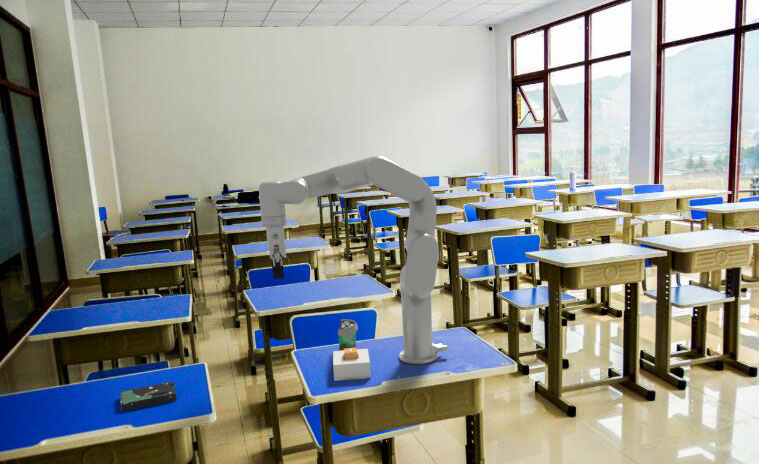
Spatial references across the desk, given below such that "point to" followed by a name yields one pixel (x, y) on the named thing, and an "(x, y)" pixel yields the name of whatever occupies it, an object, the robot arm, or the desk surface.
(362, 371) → the switch box
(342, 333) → the food container
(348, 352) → the orange small block
